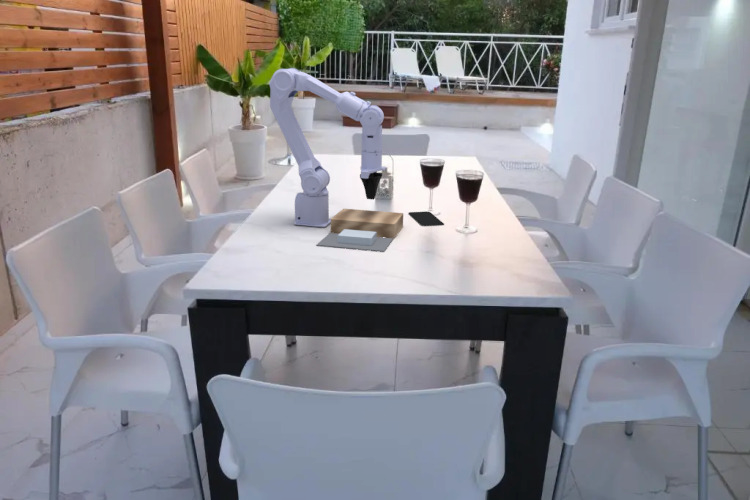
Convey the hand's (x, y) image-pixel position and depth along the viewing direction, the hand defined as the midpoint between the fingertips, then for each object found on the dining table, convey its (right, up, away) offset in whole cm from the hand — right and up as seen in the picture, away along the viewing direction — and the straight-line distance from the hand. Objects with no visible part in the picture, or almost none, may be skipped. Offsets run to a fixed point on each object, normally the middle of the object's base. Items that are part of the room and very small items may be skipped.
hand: (370, 198), depth 168 cm
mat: (-4, -13, -12) cm, 18 cm away
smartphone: (+17, -6, +11) cm, 21 cm away
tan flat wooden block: (-1, -9, -1) cm, 9 cm away
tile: (-3, -10, -12) cm, 16 cm away
